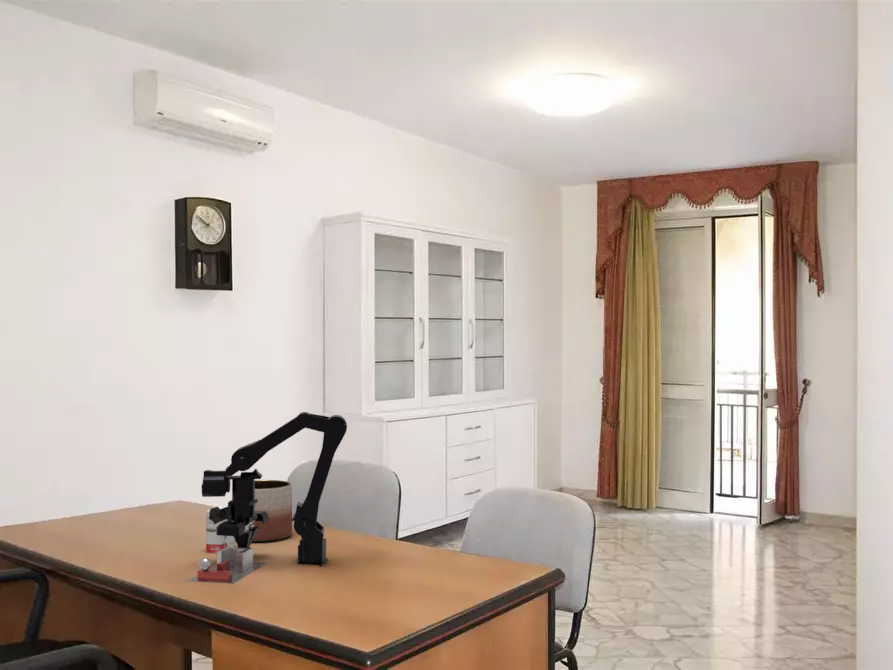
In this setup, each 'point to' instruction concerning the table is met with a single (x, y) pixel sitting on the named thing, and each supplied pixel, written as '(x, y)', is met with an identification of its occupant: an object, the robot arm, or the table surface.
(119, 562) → the table surface
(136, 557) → the table surface
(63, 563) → the table surface
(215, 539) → the ink box
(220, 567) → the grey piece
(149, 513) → the table surface
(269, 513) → the planter
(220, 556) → the block
